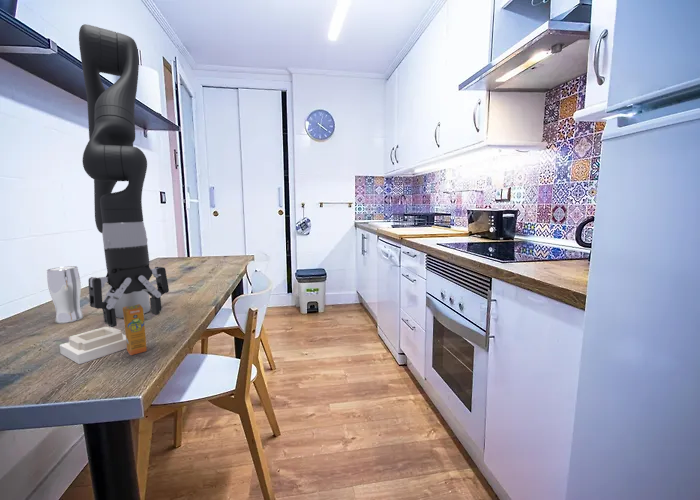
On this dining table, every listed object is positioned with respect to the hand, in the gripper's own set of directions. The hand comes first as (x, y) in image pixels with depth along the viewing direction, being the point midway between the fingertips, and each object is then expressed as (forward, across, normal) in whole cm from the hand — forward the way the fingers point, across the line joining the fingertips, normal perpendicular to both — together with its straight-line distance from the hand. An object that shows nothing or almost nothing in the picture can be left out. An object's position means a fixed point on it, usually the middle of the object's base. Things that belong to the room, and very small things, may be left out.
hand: (135, 319), depth 70 cm
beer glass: (+7, -1, -42) cm, 42 cm away
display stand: (+7, +4, -10) cm, 12 cm away
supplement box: (+7, 0, 0) cm, 7 cm away
